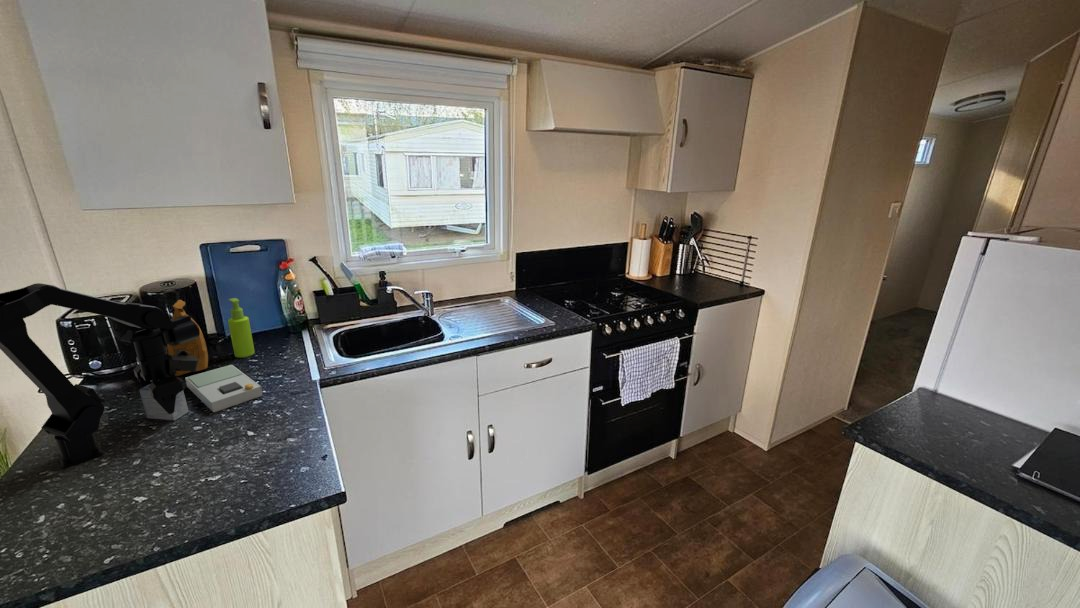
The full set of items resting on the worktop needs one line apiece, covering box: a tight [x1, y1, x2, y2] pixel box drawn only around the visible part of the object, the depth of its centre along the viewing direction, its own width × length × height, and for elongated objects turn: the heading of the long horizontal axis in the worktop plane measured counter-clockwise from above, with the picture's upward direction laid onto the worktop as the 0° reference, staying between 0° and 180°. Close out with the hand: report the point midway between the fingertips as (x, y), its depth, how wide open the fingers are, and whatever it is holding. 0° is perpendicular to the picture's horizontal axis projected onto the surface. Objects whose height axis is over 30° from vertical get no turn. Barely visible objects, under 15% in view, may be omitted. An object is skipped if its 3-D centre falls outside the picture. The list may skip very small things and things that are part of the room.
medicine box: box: [139, 384, 190, 421], centre depth 113 cm, size 8×4×9 cm, turn 84°
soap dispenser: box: [227, 297, 256, 358], centre depth 149 cm, size 6×7×20 cm
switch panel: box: [185, 364, 263, 413], centre depth 127 cm, size 22×12×4 cm, turn 52°
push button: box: [219, 382, 241, 395], centre depth 123 cm, size 4×4×3 cm
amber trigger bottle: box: [166, 299, 209, 377], centre depth 138 cm, size 10×12×22 cm
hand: (166, 407), depth 113 cm, fingers closed on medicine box, 9 cm apart
